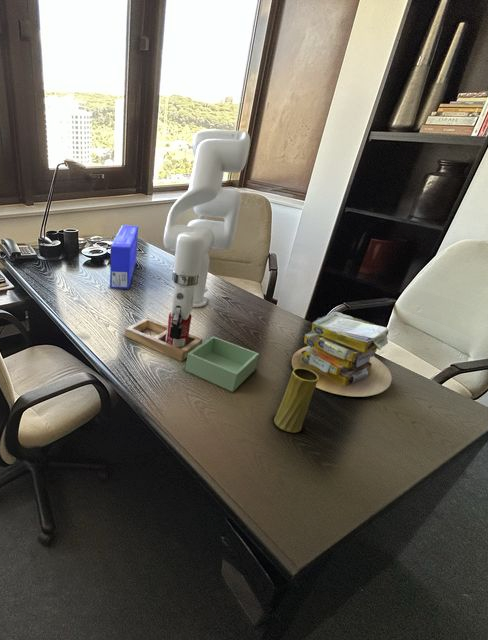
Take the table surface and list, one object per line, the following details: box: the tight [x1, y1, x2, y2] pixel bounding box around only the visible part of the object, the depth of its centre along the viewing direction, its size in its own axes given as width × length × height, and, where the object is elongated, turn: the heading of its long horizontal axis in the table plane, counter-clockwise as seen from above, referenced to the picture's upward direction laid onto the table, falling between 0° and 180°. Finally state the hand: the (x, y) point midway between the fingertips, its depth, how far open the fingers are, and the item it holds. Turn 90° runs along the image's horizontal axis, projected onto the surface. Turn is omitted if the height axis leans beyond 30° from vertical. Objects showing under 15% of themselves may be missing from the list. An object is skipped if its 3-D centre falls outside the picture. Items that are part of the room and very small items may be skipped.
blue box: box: [109, 224, 139, 290], centre depth 170 cm, size 39×8×18 cm, turn 172°
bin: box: [184, 335, 260, 393], centre depth 105 cm, size 15×15×6 cm
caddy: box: [124, 317, 204, 362], centre depth 119 cm, size 12×22×3 cm, turn 49°
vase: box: [273, 368, 319, 434], centre depth 84 cm, size 6×6×14 cm
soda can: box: [166, 311, 193, 349], centre depth 114 cm, size 7×7×12 cm
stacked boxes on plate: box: [291, 311, 393, 398], centre depth 104 cm, size 25×25×17 cm
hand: (177, 332), depth 115 cm, fingers closed on soda can, 6 cm apart
